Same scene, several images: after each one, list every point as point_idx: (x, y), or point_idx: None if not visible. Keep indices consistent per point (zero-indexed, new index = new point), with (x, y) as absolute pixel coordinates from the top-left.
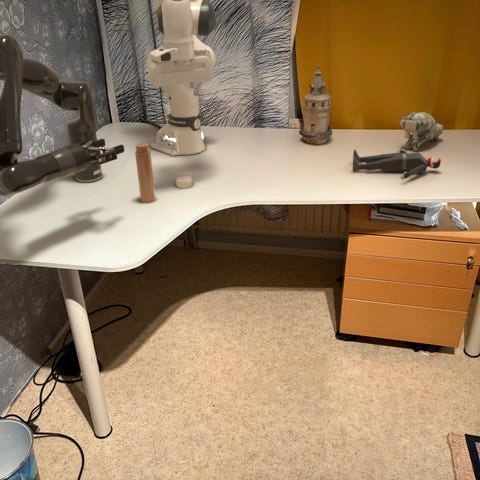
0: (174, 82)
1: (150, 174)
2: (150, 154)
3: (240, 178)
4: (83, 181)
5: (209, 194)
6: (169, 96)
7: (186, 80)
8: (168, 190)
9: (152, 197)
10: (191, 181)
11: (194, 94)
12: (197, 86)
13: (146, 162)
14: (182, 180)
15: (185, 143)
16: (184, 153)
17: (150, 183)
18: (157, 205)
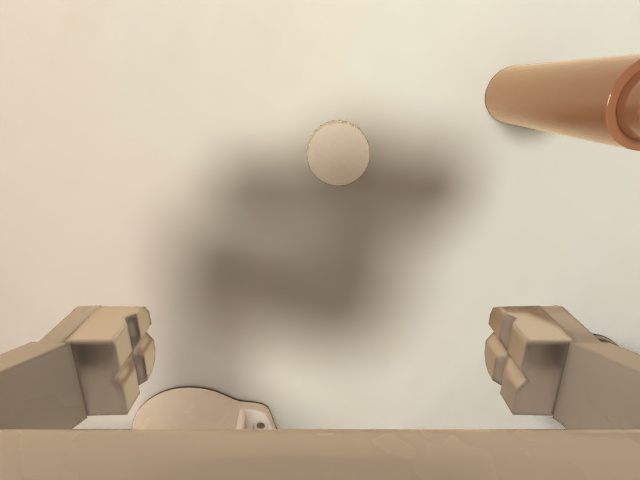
0: (619, 467)
1: (564, 63)
2: (606, 76)
3: (110, 94)
4: (616, 344)
5: (288, 9)
6: (551, 327)
7: (235, 475)
8: (409, 136)
9: (513, 67)
10: (313, 135)
11: (142, 335)
12: (20, 425)
13: (624, 55)
14: (350, 142)
15: (208, 428)
16: (224, 398)
17: (546, 63)
18: (509, 22)
